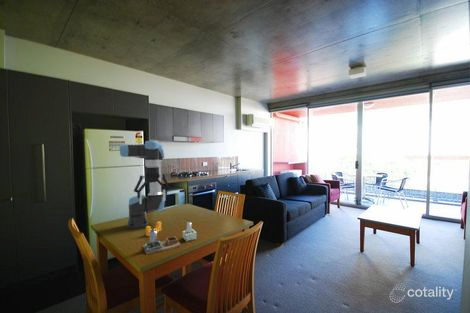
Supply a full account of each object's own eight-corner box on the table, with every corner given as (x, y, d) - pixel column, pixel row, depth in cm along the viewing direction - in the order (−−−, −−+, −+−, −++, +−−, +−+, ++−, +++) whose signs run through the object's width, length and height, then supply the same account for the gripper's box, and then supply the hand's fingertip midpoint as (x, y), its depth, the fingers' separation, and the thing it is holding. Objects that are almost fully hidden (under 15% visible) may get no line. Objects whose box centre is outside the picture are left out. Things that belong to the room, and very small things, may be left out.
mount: (143, 246, 128) (143, 241, 128) (175, 239, 139) (175, 234, 139) (146, 255, 118) (146, 249, 118) (181, 246, 129) (181, 240, 129)
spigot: (149, 246, 126) (149, 229, 126) (156, 245, 129) (155, 227, 128) (150, 249, 123) (150, 231, 123) (157, 247, 125) (157, 229, 125)
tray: (182, 237, 141) (182, 231, 141) (192, 235, 145) (192, 229, 145) (186, 241, 135) (186, 234, 135) (196, 239, 139) (196, 232, 139)
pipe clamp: (150, 237, 143) (150, 227, 143) (145, 235, 145) (145, 226, 145) (163, 230, 154) (163, 222, 154) (158, 229, 156) (158, 221, 156)
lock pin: (186, 237, 141) (186, 222, 141) (191, 236, 142) (190, 221, 142) (187, 238, 138) (187, 223, 138) (192, 238, 139) (192, 223, 139)
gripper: (129, 168, 114) (130, 206, 115) (174, 166, 128) (175, 200, 129) (128, 167, 121) (129, 203, 121) (171, 165, 134) (171, 198, 135)
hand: (152, 202), depth 125 cm, fingers open, 13 cm apart
